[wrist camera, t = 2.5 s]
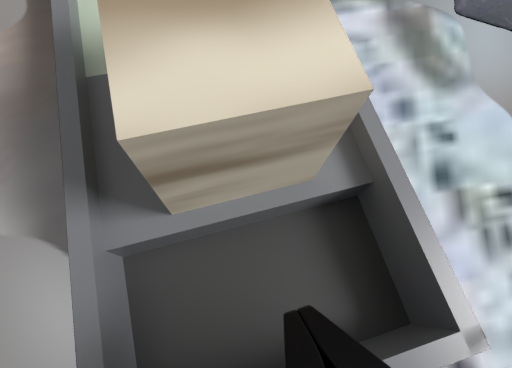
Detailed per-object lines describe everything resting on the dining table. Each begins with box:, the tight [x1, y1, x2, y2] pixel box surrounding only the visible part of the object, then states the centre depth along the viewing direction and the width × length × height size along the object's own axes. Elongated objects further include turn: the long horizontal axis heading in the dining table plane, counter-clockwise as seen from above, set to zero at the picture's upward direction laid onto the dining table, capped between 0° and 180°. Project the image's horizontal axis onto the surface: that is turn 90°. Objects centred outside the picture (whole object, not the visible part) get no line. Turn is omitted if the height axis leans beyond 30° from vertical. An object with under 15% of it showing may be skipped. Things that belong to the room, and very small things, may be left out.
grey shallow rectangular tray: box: [51, 0, 491, 368], centre depth 20 cm, size 38×17×4 cm, turn 16°
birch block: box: [97, 0, 374, 215], centre depth 14 cm, size 10×8×8 cm
